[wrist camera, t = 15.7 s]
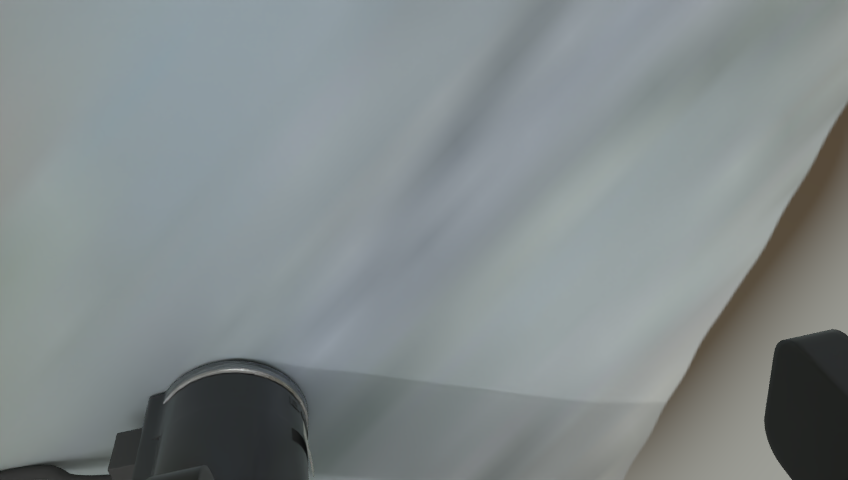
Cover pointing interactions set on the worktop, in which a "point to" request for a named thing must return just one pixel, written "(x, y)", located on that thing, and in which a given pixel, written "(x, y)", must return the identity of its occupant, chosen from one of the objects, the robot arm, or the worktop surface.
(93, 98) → the worktop surface
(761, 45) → the worktop surface
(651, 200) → the worktop surface
